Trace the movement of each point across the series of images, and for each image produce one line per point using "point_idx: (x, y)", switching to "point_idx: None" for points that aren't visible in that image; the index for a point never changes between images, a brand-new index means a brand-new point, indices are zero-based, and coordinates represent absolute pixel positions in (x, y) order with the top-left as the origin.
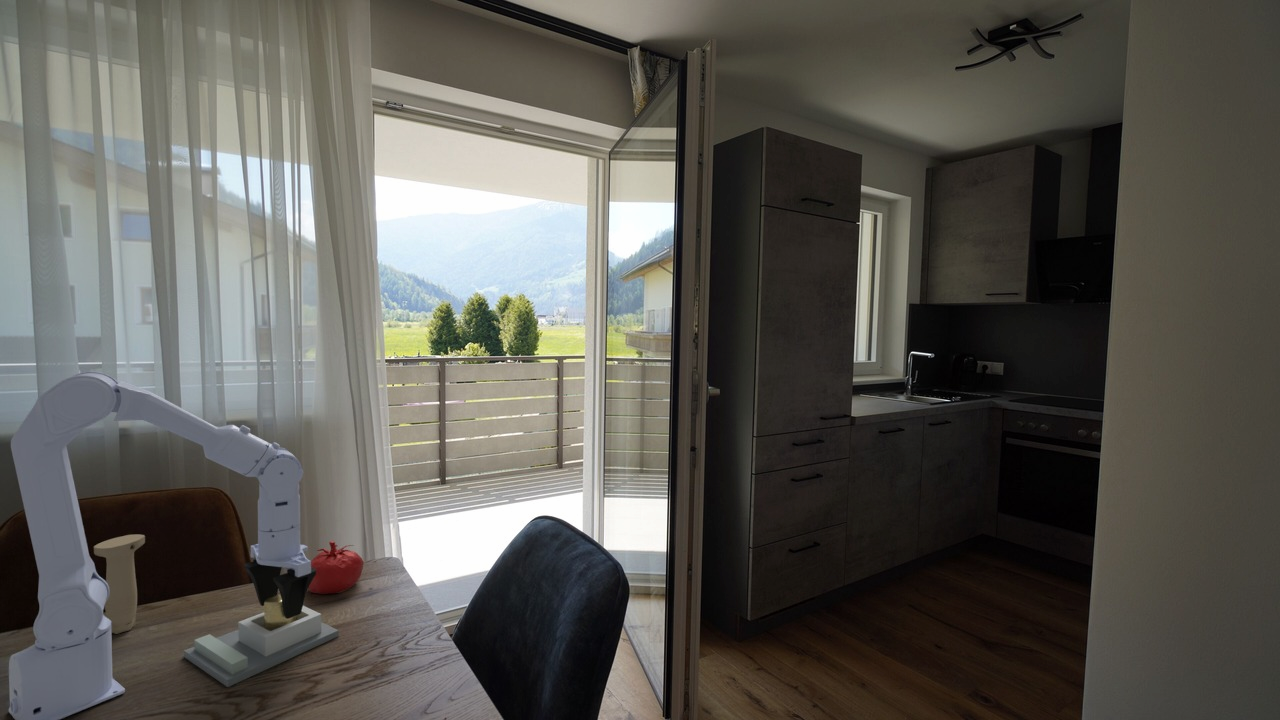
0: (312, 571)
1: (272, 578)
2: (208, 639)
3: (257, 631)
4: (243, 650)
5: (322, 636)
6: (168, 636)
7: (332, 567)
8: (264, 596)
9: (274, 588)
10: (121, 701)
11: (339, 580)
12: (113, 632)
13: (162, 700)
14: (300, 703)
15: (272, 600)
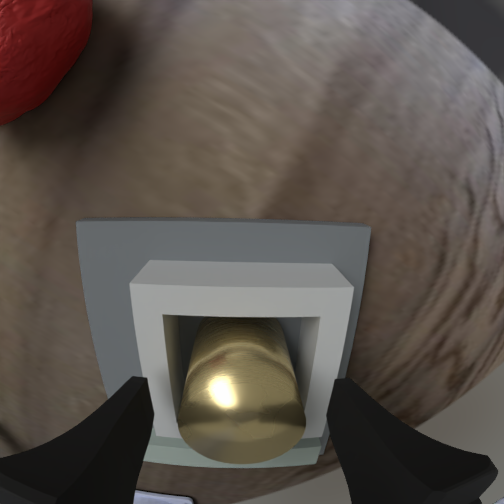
0: (488, 484)
1: (114, 460)
2: (152, 452)
3: None
4: None
5: (359, 277)
6: (26, 405)
7: (19, 45)
8: (146, 434)
9: (129, 418)
10: (209, 500)
11: (73, 41)
12: None
13: (259, 486)
14: (464, 386)
15: (220, 443)
